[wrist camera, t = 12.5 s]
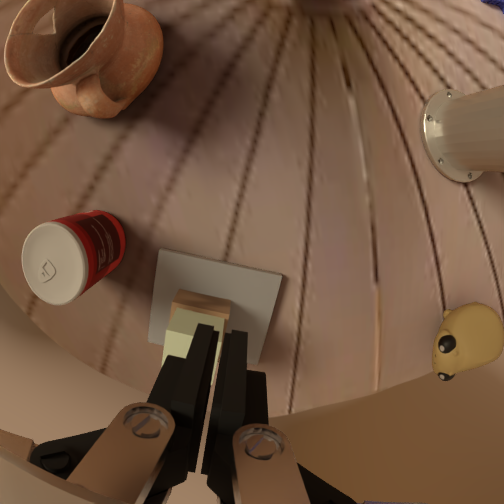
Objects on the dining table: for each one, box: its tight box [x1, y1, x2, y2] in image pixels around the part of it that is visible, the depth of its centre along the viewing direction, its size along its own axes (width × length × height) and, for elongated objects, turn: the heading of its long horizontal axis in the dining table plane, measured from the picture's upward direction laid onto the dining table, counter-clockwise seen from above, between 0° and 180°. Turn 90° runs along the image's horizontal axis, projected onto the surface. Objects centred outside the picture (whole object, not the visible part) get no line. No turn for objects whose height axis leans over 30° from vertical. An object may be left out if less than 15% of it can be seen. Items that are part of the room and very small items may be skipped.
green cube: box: [161, 308, 225, 385], centre depth 29 cm, size 5×5×5 cm
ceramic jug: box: [4, 0, 163, 118], centre depth 23 cm, size 18×14×14 cm
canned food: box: [22, 210, 126, 305], centre depth 29 cm, size 8×8×11 cm
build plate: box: [148, 248, 282, 365], centre depth 36 cm, size 14×12×1 cm
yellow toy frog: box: [432, 302, 504, 381], centre depth 33 cm, size 10×12×11 cm
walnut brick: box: [169, 289, 231, 362], centre depth 34 cm, size 6×6×4 cm
